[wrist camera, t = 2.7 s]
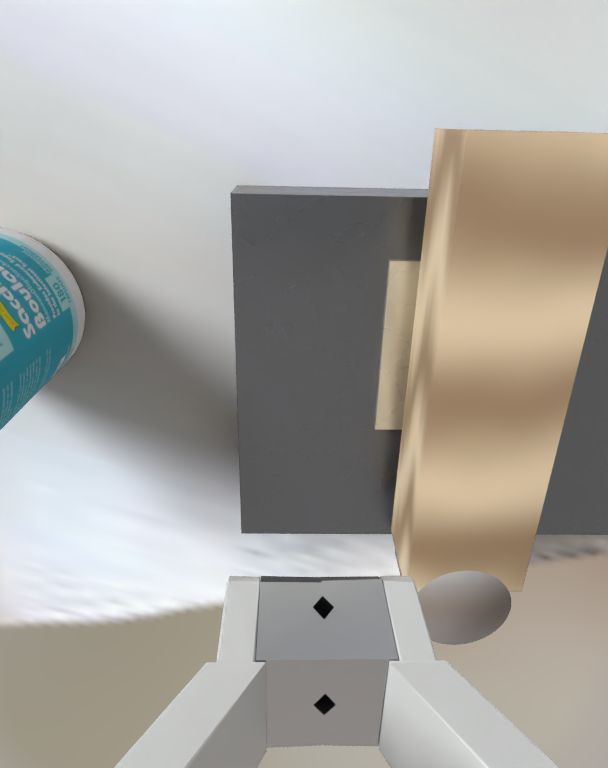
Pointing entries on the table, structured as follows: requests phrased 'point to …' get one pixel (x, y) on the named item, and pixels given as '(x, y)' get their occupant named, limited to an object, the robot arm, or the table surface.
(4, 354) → the pill bottle
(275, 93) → the table surface
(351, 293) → the panel
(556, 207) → the tan bar
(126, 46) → the table surface
